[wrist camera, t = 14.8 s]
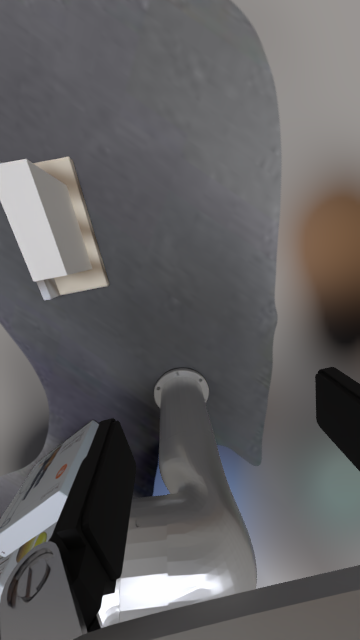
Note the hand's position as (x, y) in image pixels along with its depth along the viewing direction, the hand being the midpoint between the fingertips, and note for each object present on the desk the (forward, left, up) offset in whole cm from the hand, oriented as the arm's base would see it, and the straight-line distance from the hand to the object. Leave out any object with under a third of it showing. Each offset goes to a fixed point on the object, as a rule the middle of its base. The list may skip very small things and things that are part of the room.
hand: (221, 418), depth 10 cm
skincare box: (-33, +34, -33) cm, 58 cm away
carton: (+14, +17, -31) cm, 38 cm away
